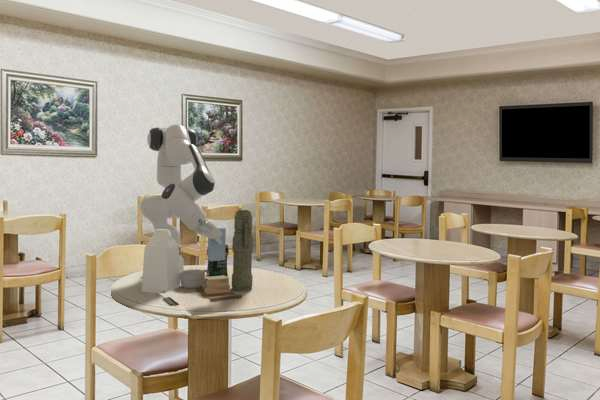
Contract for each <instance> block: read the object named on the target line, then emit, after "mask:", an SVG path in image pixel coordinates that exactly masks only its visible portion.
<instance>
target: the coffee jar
mask: <svg viewBox="0 0 600 400" xmlns="http://www.w3.org/2000/svg"><path fill="white" fill-rule="evenodd" d="M206 249H207V250H206V254H207V255H206V256H207V257H208V246H207V248H206ZM229 252H230V251H229V245H228V244H227V243H225V260H221V261H209V260H208V259H207V269H206V270H208V271H209V277H213V276H226V277H228V278H229V276H228V256H229V254H230V253H229Z"/></svg>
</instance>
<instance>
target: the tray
mask: <svg viewBox="0 0 600 400" xmlns="http://www.w3.org/2000/svg"><path fill="white" fill-rule="evenodd" d="M195 292H196V293H197V294H199V295H201V296H202V297H204V298H206V299H207V300H209V301H210V302H217V301H227V300H235V299H243V295H242V294H237V293H234V292H232V291H231V290H230V292H223V293H214V294H206V293H204V292H203V287H201V288H196V289H195Z"/></svg>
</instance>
